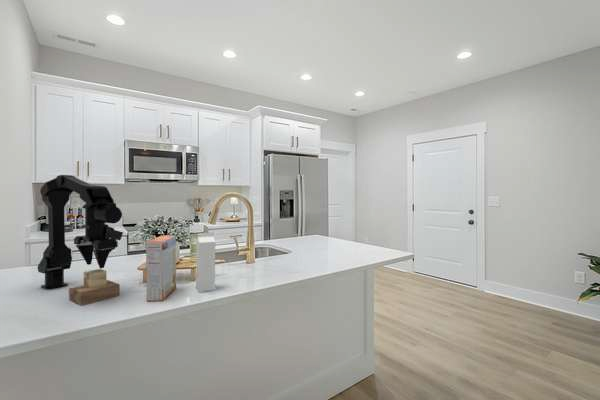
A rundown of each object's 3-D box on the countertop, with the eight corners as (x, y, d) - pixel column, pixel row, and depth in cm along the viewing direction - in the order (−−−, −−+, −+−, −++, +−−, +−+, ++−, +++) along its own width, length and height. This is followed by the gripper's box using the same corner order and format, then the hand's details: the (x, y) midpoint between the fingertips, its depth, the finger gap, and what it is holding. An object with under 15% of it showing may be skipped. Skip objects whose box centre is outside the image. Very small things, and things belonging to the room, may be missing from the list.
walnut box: (69, 300, 101) (69, 287, 101) (107, 290, 111) (107, 279, 111) (80, 305, 96) (80, 292, 96) (119, 295, 106) (119, 283, 106)
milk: (214, 290, 113) (215, 233, 113) (198, 292, 110) (199, 234, 110) (211, 286, 118) (212, 231, 118) (195, 288, 116) (196, 232, 115)
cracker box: (160, 288, 114) (161, 234, 114) (176, 288, 115) (177, 234, 114) (144, 301, 100) (145, 240, 100) (163, 301, 101) (163, 240, 100)
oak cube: (83, 286, 102) (83, 271, 102) (99, 282, 107) (99, 268, 107) (90, 288, 100) (90, 274, 100) (106, 285, 104) (106, 270, 104)
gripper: (133, 221, 105) (133, 265, 105) (107, 218, 114) (107, 258, 115) (98, 224, 95) (98, 272, 95) (73, 220, 105) (73, 264, 105)
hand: (95, 266), depth 103 cm, fingers open, 9 cm apart
